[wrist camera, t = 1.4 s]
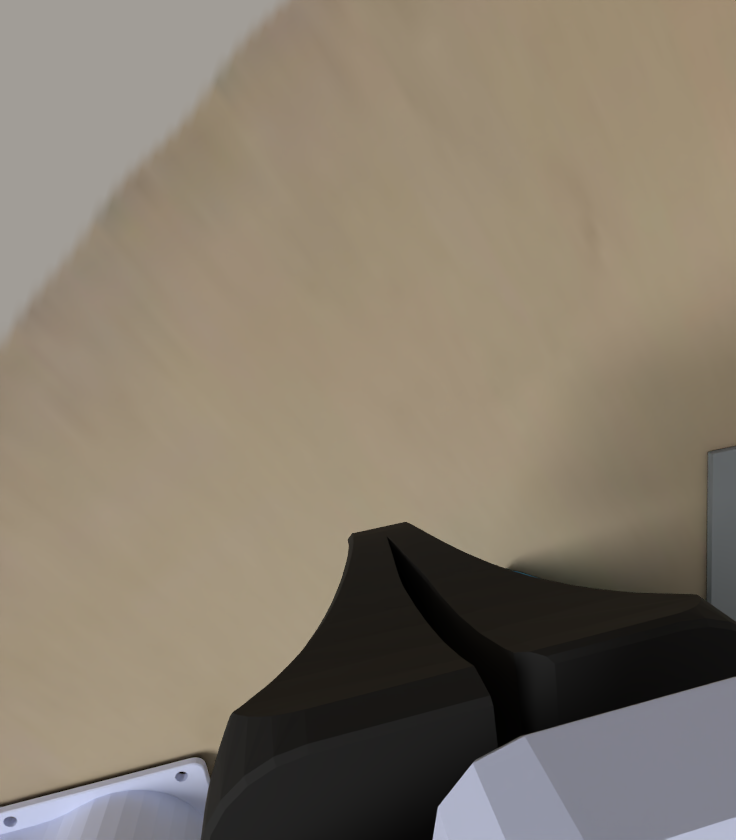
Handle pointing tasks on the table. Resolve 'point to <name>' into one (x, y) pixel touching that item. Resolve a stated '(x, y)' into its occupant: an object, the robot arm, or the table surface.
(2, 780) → the table surface
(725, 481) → the mat
